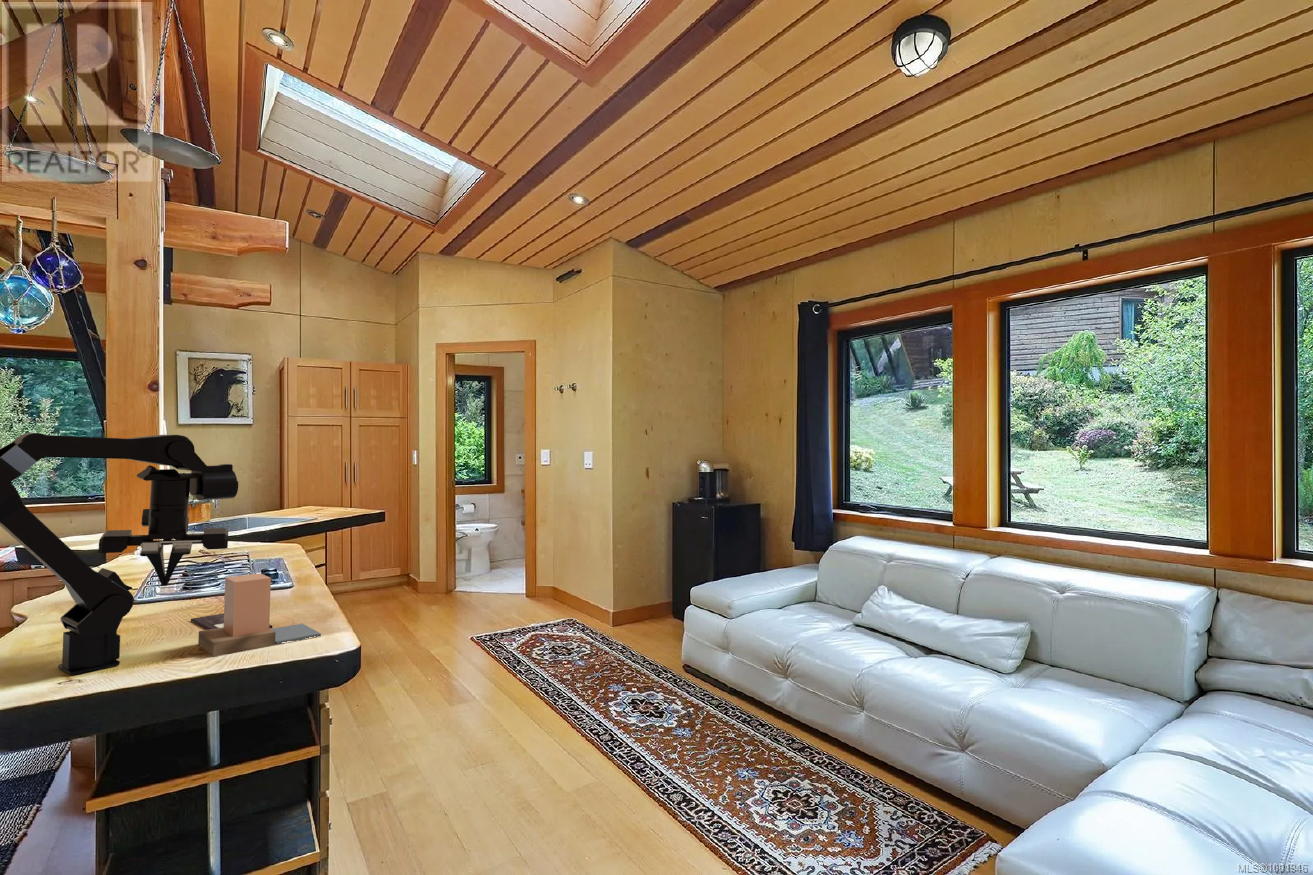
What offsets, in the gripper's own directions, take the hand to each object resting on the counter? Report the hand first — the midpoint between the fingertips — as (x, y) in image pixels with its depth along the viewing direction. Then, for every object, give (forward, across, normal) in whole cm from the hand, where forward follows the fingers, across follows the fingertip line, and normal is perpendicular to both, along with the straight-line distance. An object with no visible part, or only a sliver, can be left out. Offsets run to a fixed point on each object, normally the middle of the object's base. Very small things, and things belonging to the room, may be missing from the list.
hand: (164, 585), depth 119 cm
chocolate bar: (+14, -11, -11) cm, 20 cm away
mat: (+11, -21, +3) cm, 24 cm away
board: (+11, -12, +6) cm, 17 cm away
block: (+8, -13, +5) cm, 16 cm away
